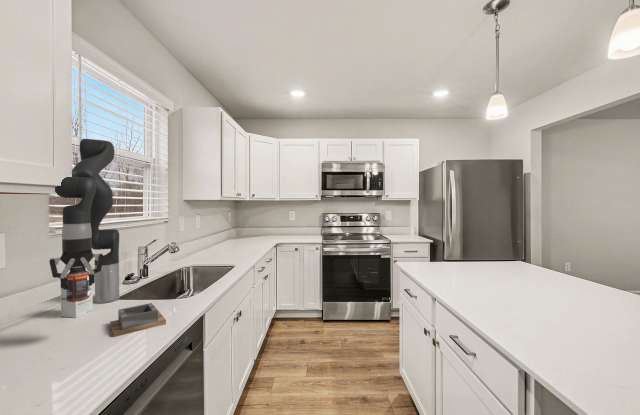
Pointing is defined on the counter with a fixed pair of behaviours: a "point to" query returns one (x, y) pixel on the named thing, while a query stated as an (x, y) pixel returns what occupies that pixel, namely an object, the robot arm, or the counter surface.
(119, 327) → the socket stand
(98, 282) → the robot arm
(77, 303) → the supplement box
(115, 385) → the counter surface
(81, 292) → the supplement bottle
